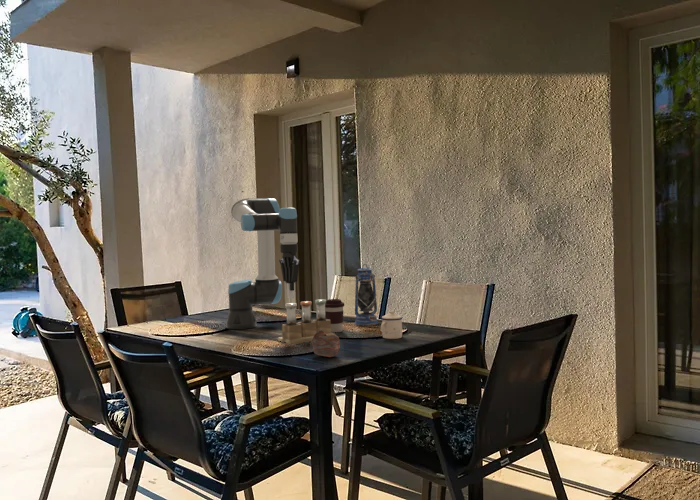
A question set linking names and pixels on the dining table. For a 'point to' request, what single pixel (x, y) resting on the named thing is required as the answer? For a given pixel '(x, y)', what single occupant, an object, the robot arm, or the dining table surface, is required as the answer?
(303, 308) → the terracotta plunger
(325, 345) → the stone
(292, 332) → the beige boxy slotted piece
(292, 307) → the cream plunger
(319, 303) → the sage plunger
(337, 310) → the coffee cup
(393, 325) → the white enamel mug
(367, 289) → the lantern
